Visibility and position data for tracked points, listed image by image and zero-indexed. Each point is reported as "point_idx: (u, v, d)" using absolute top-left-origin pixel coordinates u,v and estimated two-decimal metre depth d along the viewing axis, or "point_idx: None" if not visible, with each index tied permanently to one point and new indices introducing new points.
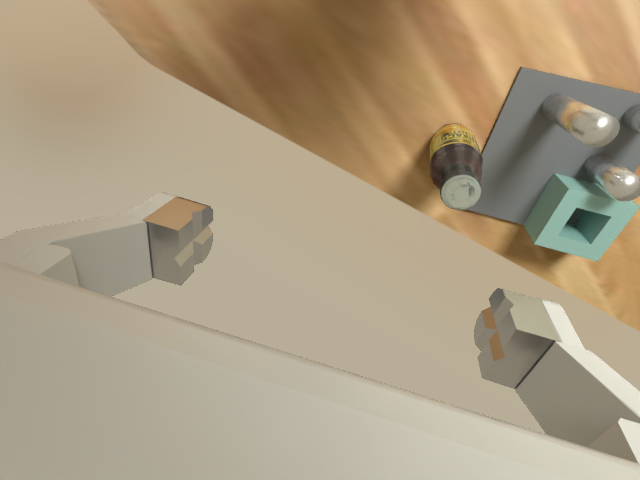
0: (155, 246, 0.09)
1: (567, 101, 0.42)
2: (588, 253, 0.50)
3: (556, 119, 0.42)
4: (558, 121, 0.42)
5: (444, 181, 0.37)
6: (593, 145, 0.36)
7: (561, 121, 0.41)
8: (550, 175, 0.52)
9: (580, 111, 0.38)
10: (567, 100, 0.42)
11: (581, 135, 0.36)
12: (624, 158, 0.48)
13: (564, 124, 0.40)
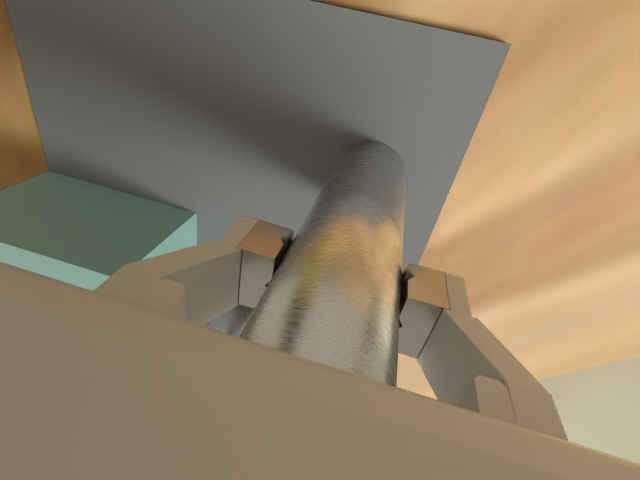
0: (246, 273, 0.09)
1: (400, 223, 0.11)
2: None
3: (332, 204, 0.10)
4: (324, 215, 0.09)
5: None
6: None
7: (323, 233, 0.08)
8: (189, 206, 0.19)
9: (380, 336, 0.06)
10: (401, 220, 0.11)
11: None
12: None
13: (309, 256, 0.08)
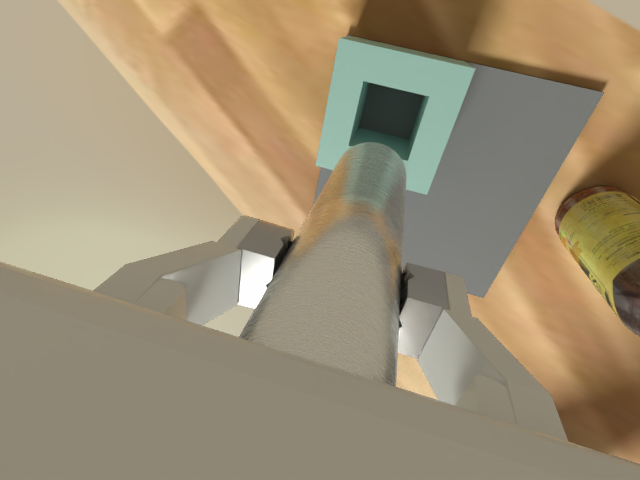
0: (246, 273, 0.09)
1: (400, 224, 0.11)
2: (361, 57, 0.23)
3: (332, 205, 0.10)
4: (323, 216, 0.09)
5: None
6: None
7: (323, 234, 0.08)
8: None
9: (380, 337, 0.06)
10: (401, 221, 0.11)
11: None
12: None
13: (308, 257, 0.08)
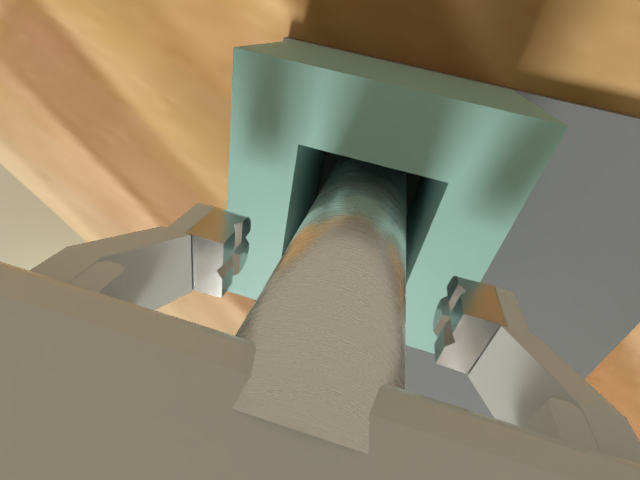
0: (198, 259, 0.09)
1: (403, 205, 0.11)
2: (289, 92, 0.10)
3: (341, 184, 0.11)
4: (334, 193, 0.10)
5: None
6: None
7: (335, 206, 0.09)
8: None
9: (392, 287, 0.07)
10: (404, 203, 0.12)
11: None
12: None
13: (323, 223, 0.08)
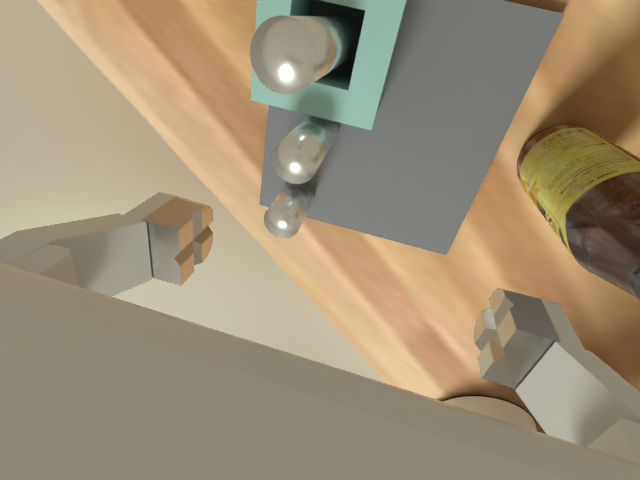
0: (155, 246, 0.09)
1: (344, 33, 0.22)
2: None
3: None
4: None
5: None
6: (254, 53, 0.16)
7: None
8: (382, 106, 0.29)
9: (325, 28, 0.18)
10: (346, 34, 0.23)
11: (270, 18, 0.15)
12: None
13: None
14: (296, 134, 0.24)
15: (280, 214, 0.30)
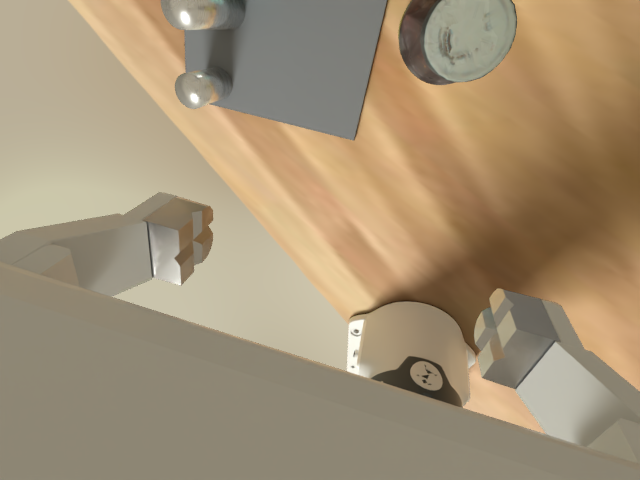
0: (155, 246, 0.09)
1: None
2: None
3: None
4: None
5: None
6: None
7: None
8: None
9: None
10: None
11: None
12: None
13: None
14: None
15: (188, 82, 0.33)
